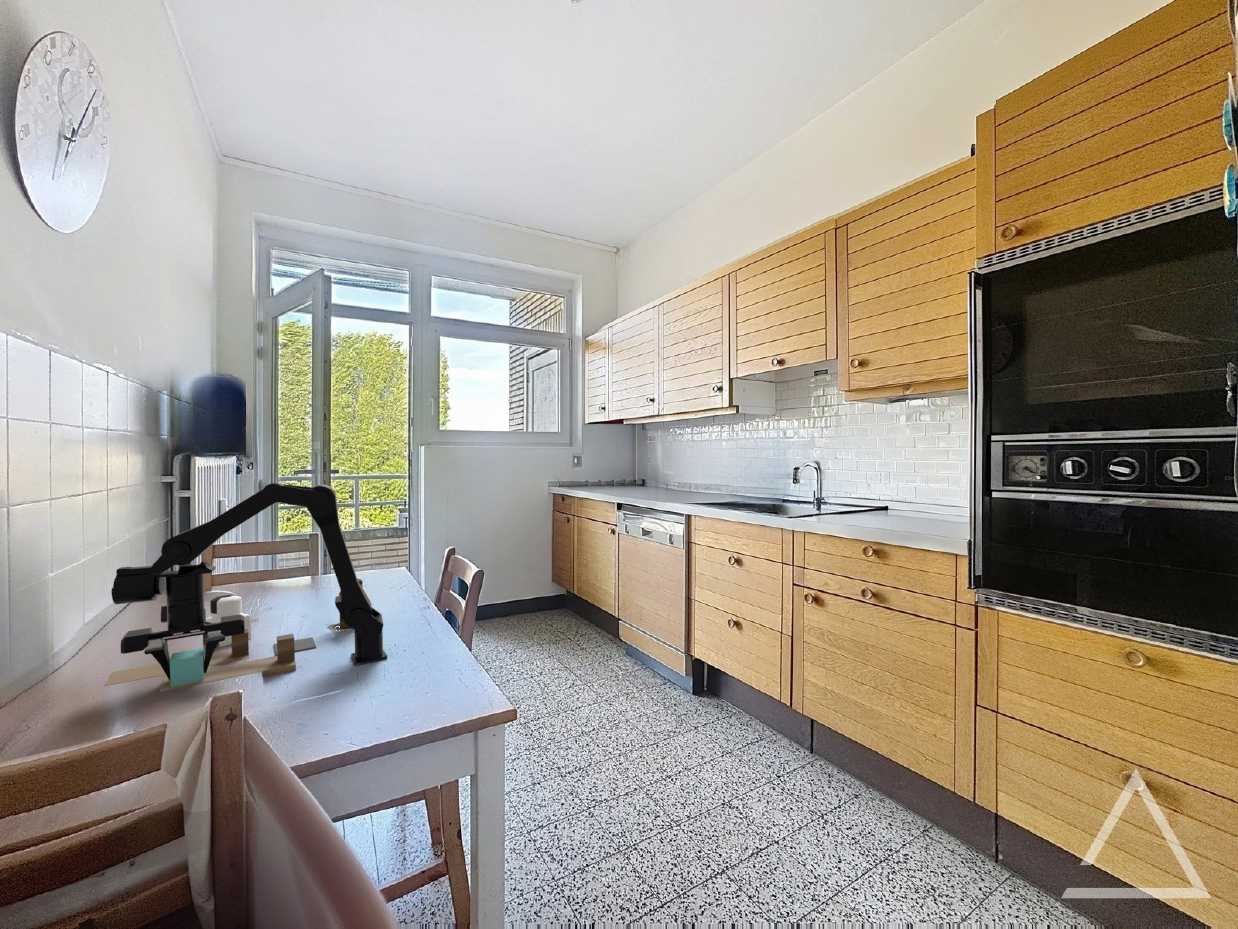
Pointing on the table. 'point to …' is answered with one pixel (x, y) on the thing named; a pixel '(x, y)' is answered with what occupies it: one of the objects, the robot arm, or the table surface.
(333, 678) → the table surface
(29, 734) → the table surface
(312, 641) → the coaster
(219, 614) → the medicine bottle
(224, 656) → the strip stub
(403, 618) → the table surface
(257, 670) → the strip
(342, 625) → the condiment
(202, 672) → the cube
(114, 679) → the board
